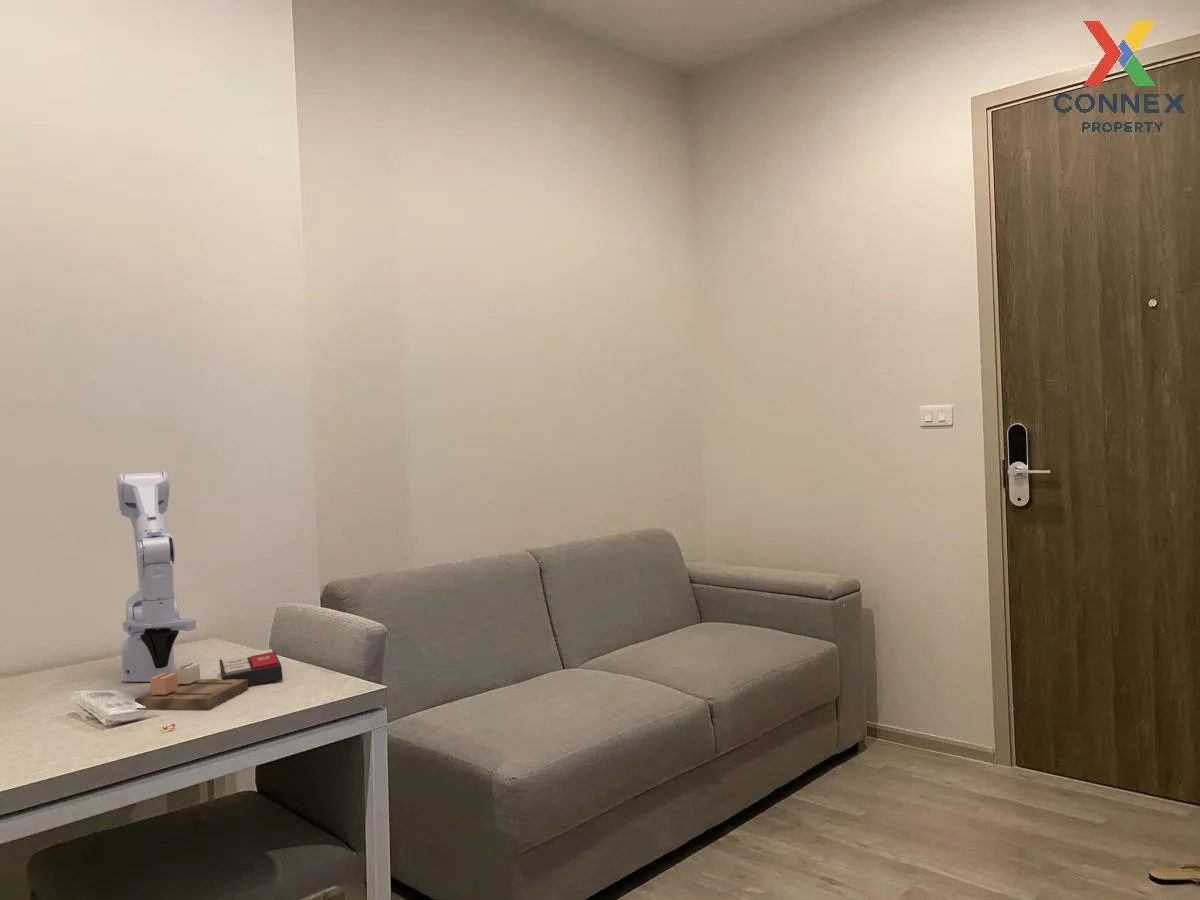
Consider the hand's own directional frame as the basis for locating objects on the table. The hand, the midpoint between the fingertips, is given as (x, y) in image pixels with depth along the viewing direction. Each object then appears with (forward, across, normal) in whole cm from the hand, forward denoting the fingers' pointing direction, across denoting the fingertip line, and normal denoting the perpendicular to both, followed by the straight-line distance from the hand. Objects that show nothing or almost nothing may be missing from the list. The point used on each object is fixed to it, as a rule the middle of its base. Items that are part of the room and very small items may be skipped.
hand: (161, 667), depth 177 cm
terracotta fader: (+3, +5, -7) cm, 9 cm away
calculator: (+6, +12, +12) cm, 18 cm away
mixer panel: (+5, +9, -3) cm, 11 cm away
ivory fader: (+3, +5, 0) cm, 6 cm away
